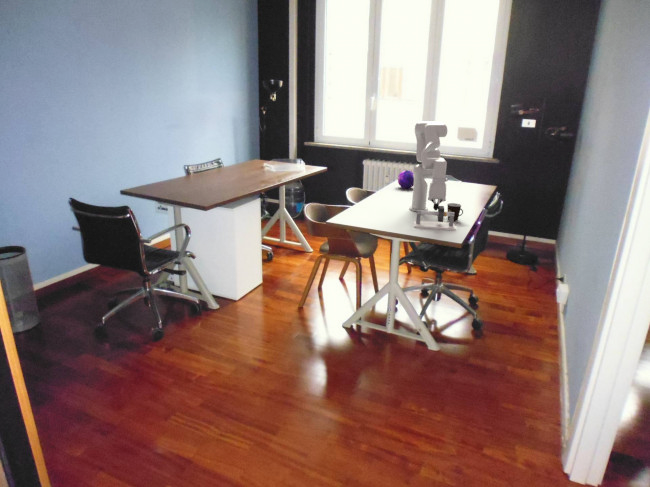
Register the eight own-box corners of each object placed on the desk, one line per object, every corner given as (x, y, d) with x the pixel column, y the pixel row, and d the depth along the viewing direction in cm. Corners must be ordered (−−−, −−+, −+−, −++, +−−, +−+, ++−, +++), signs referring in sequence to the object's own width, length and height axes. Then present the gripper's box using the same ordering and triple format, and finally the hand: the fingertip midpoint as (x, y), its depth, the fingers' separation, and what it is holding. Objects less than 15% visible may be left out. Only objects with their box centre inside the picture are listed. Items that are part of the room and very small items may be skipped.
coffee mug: (444, 217, 315) (445, 203, 312) (456, 217, 316) (458, 203, 313) (449, 222, 304) (451, 207, 301) (462, 222, 305) (464, 207, 302)
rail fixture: (413, 221, 305) (414, 207, 302) (453, 224, 301) (455, 209, 298) (413, 227, 293) (415, 212, 290) (455, 230, 289) (457, 215, 286)
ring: (437, 218, 299) (438, 205, 297) (442, 218, 299) (443, 206, 296) (438, 221, 292) (439, 209, 289) (443, 222, 291) (444, 209, 289)
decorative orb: (398, 185, 409) (400, 168, 404) (416, 187, 404) (417, 169, 399) (395, 189, 395) (396, 171, 390) (413, 190, 391) (415, 172, 386)
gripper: (450, 179, 290) (447, 209, 296) (425, 178, 292) (423, 207, 298) (451, 182, 283) (448, 212, 289) (426, 181, 285) (423, 210, 291)
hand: (435, 209), depth 294 cm, fingers closed
